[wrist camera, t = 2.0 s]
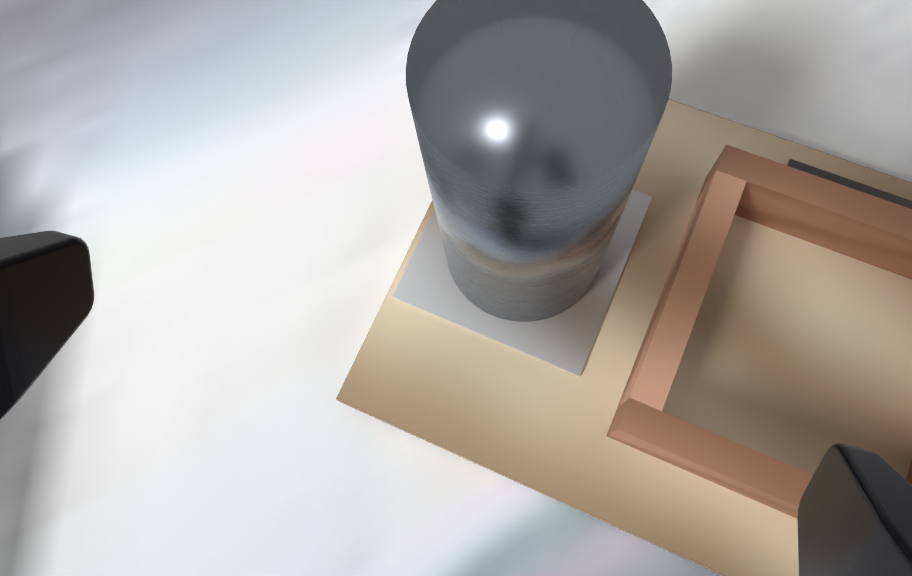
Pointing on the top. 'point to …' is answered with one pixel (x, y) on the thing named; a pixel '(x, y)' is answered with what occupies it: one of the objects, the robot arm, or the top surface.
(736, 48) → the top surface
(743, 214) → the wooden board with frame
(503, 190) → the dark grey cylinder
